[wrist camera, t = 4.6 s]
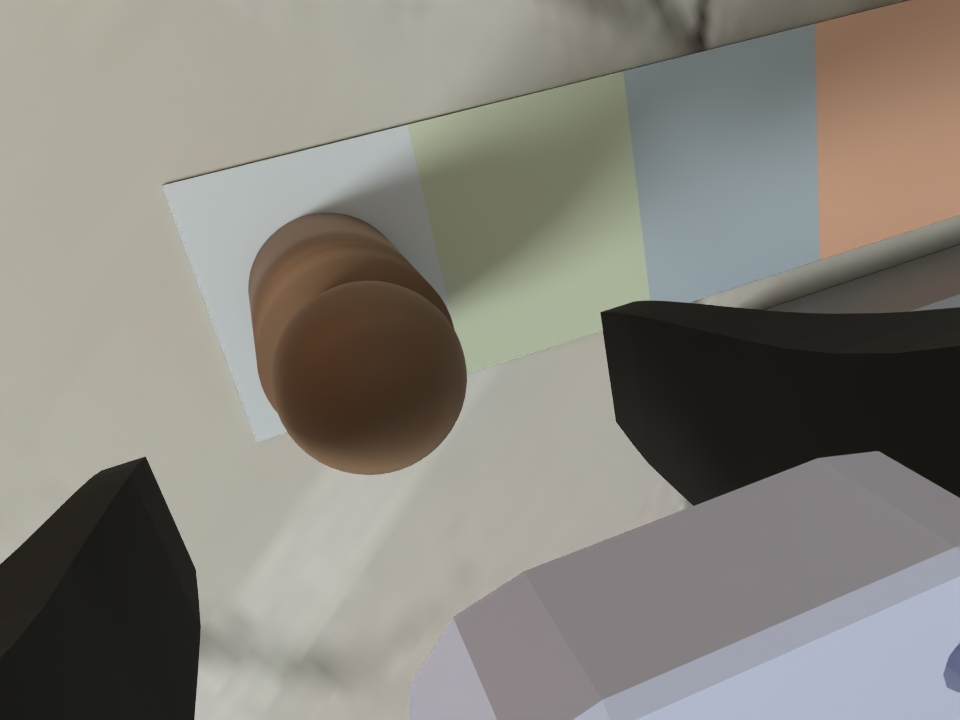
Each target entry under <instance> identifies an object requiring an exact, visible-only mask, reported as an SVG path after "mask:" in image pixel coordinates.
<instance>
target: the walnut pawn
mask: <svg viewBox="0 0 960 720" xmlns="http://www.w3.org/2000/svg"><path fill="white" fill-rule="evenodd" d="M248 294H249V302H250V311H251V319H252V327H253V335H254V344H255V352H256V360H257V369H258V375H259V379H260V382H261V386H262V388H263V391H264V393H265V395H266V397H267V399H268V401H269V402H270V404H271V405H272V407H273V408H274V410H275V411H276V412H277V413H278V415H279V418H280V420H281V422H282V424H283V426H284V427H285V429H286V430H287V432H288V434H289V435H290V436H291V437H292V439H293V440H294V441H295V442H296V443H297V444H298V446H299V447H301V448H302V449H303V450H304V451H305V452H306V453H307V454H309V455H310V456H312V457H313V458H315V459H316V460H318V461H319V462H321V463H323V464H325V465H327V466H329V467H331V468H334V469H337V470H340V471H343V472H348V473H353V474H363V475H376V474H384V473H390V472H394V471H397V470H401V469H403V468H406V467H408V466H411V465H413V464H414V463H416V462H418V461H420V460H421V459H423V458H424V457H426V456H427V455H429V454H430V453H431V452H432V451H433V450H435V449H436V448H437V447H438V446H439V445H440V444H441V443H442V441H443V440H444V439H445V438H446V437H447V435H448V434H449V432H450V431H451V430H452V428H453V426H454V424H455V422H456V421H457V419H458V417H459V414H460V412H461V409H462V406H463V402H464V399H465V393H466V384H467V369H466V362H465V357H464V353H463V349H462V346H461V343H460V341H459V338H458V336H457V334H456V332H455V330H454V325H453V322H452V319H451V316H450V313H449V311H448V309H447V307H446V305H445V303H444V302H443V300H442V299H441V297H440V295H439V294H438V293H437V292H436V291H435V290H434V288H433V287H432V286H431V285H430V284H429V283H428V282H427V281H426V280H425V279H424V277H423V276H422V275H421V274H420V273H419V272H418V271H417V270H416V269H415V268H414V267H413V266H412V265H411V264H410V263H409V262H408V261H407V259H406V258H405V257H404V256H403V255H402V254H401V253H400V252H399V251H398V250H397V249H396V248H395V247H394V246H393V245H392V244H391V243H390V241H389V240H388V239H387V238H386V237H385V236H384V235H383V234H382V233H380V232H379V231H378V230H377V229H376V228H374V227H373V226H371V225H370V224H368V223H367V222H365V221H363V220H361V219H358V218H355V217H353V216H350V215H345V214H340V213H329V212H327V213H315V214H310V215H306V216H303V217H300V218H297V219H295V220H293V221H291V222H289V223H287V224H285V225H284V226H282V227H281V228H279V229H278V230H277V231H276V232H274V233H273V234H272V235H271V236H270V237H269V238H268V239H267V240H266V242H265V243H264V244H263V245H262V247H261V248H260V250H259V251H258V253H257V255H256V257H255V259H254V262H253V264H252V268H251V271H250V276H249V283H248Z"/></svg>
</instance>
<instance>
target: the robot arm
mask: <svg viewBox="0 0 960 720" xmlns="http://www.w3.org/2000/svg"><path fill="white" fill-rule="evenodd" d="M600 314H601V321H602V328H603V334H604V341H605V348H606V355H607V362H608V369H609V376H610V382H611V389H612V396H613V403H614V410H615V417H616V422H617V423H618V425H619V426H620V427H621V429H622V430H623V431H624V433H625V434H626V435H627V437H628V438H629V440H630V441H631V442H632V444H633V445H634V446H635V447H636V449H637V450H638V451H639V452H640V453H641V455H642V456H643V457H644V458H645V460H646V461H647V462H648V463H649V464H650V465H651V466H652V467H653V468H654V469H655V470H656V471H657V472H658V473H659V474H660V475H661V476H662V477H663V478H664V479H665V480H667V481H668V482H669V483H670V484H671V485H672V486H673V487H674V488H675V489H676V490H677V491H678V492H679V493H680V494H681V495H682V496H684V497H685V498H686V499H687V500H688V501H689V502H690V503H691V504H692V505H693V507H690V508H687V509H685V510H682V511H680V512H677V513H674V514H672V515H669V516H667V517H664V518H661V519H659V520H656V521H654V522H651V523H649V524H646V525H643V526H641V527H638V528H636V529H633V530H630V531H628V532H625V533H623V534H620V535H617V536H615V537H612V538H610V539H607V540H604V541H602V542H599V543H597V544H594V545H591V546H589V547H586V548H584V549H581V550H579V551H576V552H573V553H571V554H568V555H566V556H563V557H560V558H558V559H555V560H553V561H550V562H547V563H545V564H542V565H540V566H537V567H534V568H532V569H529V570H527V571H524V572H522V573H521V574H519V575H518V576H516V577H515V578H513V579H512V580H510V581H508V582H507V583H505V584H504V585H502V586H501V587H499V588H498V589H496V590H495V591H493V592H491V593H490V594H488V595H487V596H485V597H484V598H482V599H481V600H479V601H477V602H476V603H474V604H473V605H471V606H470V607H468V608H467V609H465V610H464V611H462V612H460V613H459V614H457V615H456V616H454V617H453V618H452V620H451V621H450V623H449V624H448V626H447V627H446V629H445V631H444V632H443V634H442V635H441V637H440V638H439V640H438V641H437V643H436V644H435V646H434V648H433V649H432V651H431V652H430V654H429V655H428V657H427V658H426V660H425V661H424V663H423V665H422V666H421V668H420V669H419V671H418V672H417V674H416V675H415V677H414V678H413V680H412V682H411V688H410V720H960V307H957V308H945V309H933V310H921V311H909V312H891V313H846V314H827V313H800V312H782V311H767V310H755V309H744V308H733V307H723V306H714V305H704V304H694V303H684V302H672V301H652V300H650V301H634V302H631V303H628V304H625V305H621V306H618V307H615V308H612V309H609V310H606V311H602V312H600ZM200 627H201V626H200V612H199V599H198V589H197V579H196V569H195V567H194V565H193V563H192V560H191V558H190V556H189V554H188V551H187V549H186V547H185V545H184V542H183V540H182V538H181V536H180V533H179V531H178V529H177V527H176V524H175V522H174V520H173V518H172V515H171V513H170V511H169V508H168V506H167V504H166V502H165V499H164V497H163V495H162V493H161V490H160V488H159V486H158V484H157V481H156V479H155V477H154V475H153V472H152V470H151V468H150V466H149V463H148V461H147V459H146V457H143V458H140V459H137V460H133V461H130V462H127V463H124V464H121V465H118V466H115V467H111V468H108V469H105V470H102V471H100V472H99V473H97V474H96V475H95V476H93V477H92V478H91V479H89V480H88V481H87V482H86V483H85V484H84V485H83V486H82V487H81V488H79V489H78V490H77V491H76V492H75V493H74V494H73V495H72V496H71V497H70V498H69V499H68V500H67V501H66V502H65V503H64V504H63V505H62V506H61V507H60V508H59V509H58V510H57V511H56V512H55V513H54V514H53V515H52V516H51V517H50V518H49V519H48V520H47V521H46V522H45V523H44V524H43V525H42V526H41V527H40V528H38V529H37V530H36V531H35V532H34V533H33V534H32V535H31V536H30V537H29V538H28V539H27V540H26V541H25V542H24V543H23V544H22V545H21V546H20V547H19V548H18V549H17V550H16V551H15V552H14V553H12V554H11V555H10V556H9V557H8V558H7V559H6V560H5V561H4V562H2V563H1V564H0V720H194V715H195V702H196V688H197V675H198V660H199V645H200Z"/></svg>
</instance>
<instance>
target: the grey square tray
mask: <svg viewBox="0 0 960 720" xmlns="http://www.w3.org/2000/svg"><path fill="white" fill-rule="evenodd" d="M957 307H960V245H957V246H954V247H951V248H948V249H945V250H942V251H939V252H936V253H933V254H930V255H927V256H924V257H921V258H918V259H915V260H912V261H909V262H906V263H903V264H900V265H897V266H894V267H891V268H888V269H885V270H882V271H879V272H876V273H873V274H870V275H867V276H864V277H861V278H858V279H855V280H852V281H849V282H846V283H843V284H840V285H837V286H834V287H831V288H828V289H825V290H822V291H819V292H816V293H813V294H810V295H807V296H804V297H801V298H798V299H795V300H792V301H789V302H786V303H783V304H780V305H777V306H774V307H771V308H768V309H765V310H767V311H782V312H800V313H827V314H846V313H891V312H909V311H921V310H933V309H945V308H957Z"/></svg>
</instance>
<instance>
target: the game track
mask: <svg viewBox="0 0 960 720" xmlns="http://www.w3.org/2000/svg"><path fill="white" fill-rule="evenodd" d="M162 188H163V191H164V193H165V196H166V199H167V202H168V204H169V207H170V210H171V212H172V215H173V218H174V221H175V223H176V226H177V229H178V231H179V234H180V237H181V239H182V242H183V245H184V248H185V250H186V253H187V256H188V258H189V261H190V264H191V266H192V269H193V272H194V275H195V277H196V280H197V283H198V285H199V288H200V291H201V294H202V296H203V299H204V302H205V304H206V307H207V310H208V312H209V315H210V318H211V321H212V323H213V326H214V329H215V331H216V334H217V337H218V340H219V342H220V345H221V348H222V350H223V353H224V356H225V358H226V361H227V364H228V367H229V369H230V372H231V375H232V377H233V380H234V383H235V385H236V388H237V391H238V394H239V396H240V399H241V402H242V404H243V407H244V410H245V413H246V415H247V418H248V421H249V423H250V426H251V429H252V431H253V434H254V437H255V440H256V442H259V441H262V440H265V439H268V438H271V437H274V436H277V435H280V434H283V433H287V430H286V429H285V427H284V426H283V424H282V422H281V420H280V418H279V415H278V413H277V412H276V411H275V410H274V408H273V407H272V405H271V404H270V402H269V401H268V399H267V397H266V395H265V393H264V391H263V388H262V386H261V382H260V379H259V375H258V369H257V360H256V352H255V344H254V335H253V327H252V319H251V311H250V302H249V294H248V283H249V276H250V271H251V268H252V264H253V262H254V259H255V257H256V255H257V253H258V251H259V250H260V248H261V247H262V245H263V244H264V243H265V242H266V240H267V239H268V238H269V237H270V236H271V235H272V234H273V233H274V232H276V231H277V230H278V229H279V228H281V227H282V226H284V225H285V224H287V223H289V222H291V221H293V220H295V219H297V218H300V217H303V216H306V215H310V214H315V213H327V212H329V213H340V214H345V215H350V216H353V217H355V218H358V219H361V220H363V221H365V222H367V223H368V224H370V225H371V226H373V227H374V228H376V229H377V230H378V231H379V232H380V233H382V234H383V235H384V236H385V237H386V238H387V239H388V240H389V241H390V243H391V244H392V245H393V246H394V247H395V248H396V249H397V250H398V251H399V252H400V253H401V254H402V255H403V256H404V257H405V258H406V259H407V261H408V262H409V263H410V264H411V265H412V266H413V267H414V268H415V269H416V270H417V271H418V272H419V273H420V274H421V275H422V276H423V277H424V279H425V280H426V281H427V282H428V283H429V284H430V285H431V286H432V287H433V288H434V290H435V291H436V292H437V293H438V294H439V295H440V297H441V299H442V300H443V302H444V303H445V305H446V307H447V309H448V311H449V313H450V316H451V319H452V322H453V325H454V330H455V332H456V334H457V336H458V338H459V341H460V343H461V346H462V349H463V353H464V357H465V362H466V369H467V374H469V373H472V372H475V371H478V370H482V369H485V368H488V367H491V366H494V365H497V364H500V363H503V362H506V361H509V360H513V359H516V358H519V357H522V356H525V355H528V354H531V353H534V352H537V351H540V350H543V349H547V348H550V347H553V346H556V345H559V344H562V343H565V342H568V341H571V340H574V339H578V338H581V337H584V336H587V335H590V334H593V333H596V332H599V331H602V330H603V328H602V321H601V314H600V312H602V311H606V310H609V309H612V308H615V307H618V306H621V305H625V304H628V303H631V302H634V301H650V300H652V301H672V302H684V303H689V302H692V301H695V300H698V299H701V298H704V297H708V296H711V295H714V294H717V293H720V292H723V291H726V290H729V289H732V288H735V287H739V286H742V285H745V284H748V283H751V282H754V281H757V280H760V279H763V278H766V277H769V276H773V275H776V274H779V273H782V272H785V271H788V270H791V269H794V268H797V267H800V266H804V265H807V264H810V263H813V262H816V261H819V260H822V259H825V258H828V257H831V256H834V255H838V254H841V253H844V252H847V251H850V250H853V249H856V248H859V247H862V246H865V245H869V244H872V243H875V242H878V241H881V240H884V239H887V238H890V237H893V236H896V235H899V234H903V233H906V232H909V231H912V230H915V229H918V228H921V227H924V226H927V225H930V224H934V223H937V222H940V221H943V220H946V219H949V218H952V217H955V216H958V215H960V0H908V1H904V2H900V3H896V4H892V5H888V6H884V7H879V8H875V9H871V10H867V11H863V12H859V13H855V14H851V15H847V16H843V17H839V18H835V19H831V20H827V21H823V22H819V23H815V24H811V25H807V26H803V27H799V28H795V29H791V30H787V31H783V32H779V33H775V34H771V35H766V36H762V37H758V38H754V39H750V40H746V41H742V42H738V43H734V44H730V45H726V46H722V47H718V48H714V49H710V50H706V51H702V52H698V53H694V54H690V55H686V56H682V57H678V58H674V59H670V60H666V61H662V62H658V63H653V64H649V65H645V66H641V67H637V68H633V69H629V70H625V71H621V72H617V73H613V74H609V75H605V76H601V77H597V78H593V79H589V80H585V81H581V82H577V83H573V84H569V85H565V86H561V87H557V88H553V89H549V90H545V91H540V92H536V93H532V94H528V95H524V96H520V97H516V98H512V99H508V100H504V101H500V102H496V103H492V104H488V105H484V106H480V107H476V108H472V109H468V110H464V111H460V112H456V113H452V114H448V115H444V116H440V117H436V118H432V119H427V120H423V121H419V122H415V123H411V124H407V125H403V126H399V127H395V128H391V129H387V130H383V131H379V132H375V133H371V134H367V135H363V136H359V137H355V138H351V139H347V140H343V141H339V142H335V143H331V144H327V145H323V146H318V147H314V148H310V149H306V150H302V151H298V152H294V153H290V154H286V155H282V156H278V157H274V158H270V159H266V160H262V161H258V162H254V163H250V164H246V165H242V166H238V167H234V168H230V169H226V170H222V171H218V172H214V173H210V174H205V175H201V176H197V177H193V178H189V179H185V180H181V181H177V182H173V183H169V184H165V185H162Z"/></svg>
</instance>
